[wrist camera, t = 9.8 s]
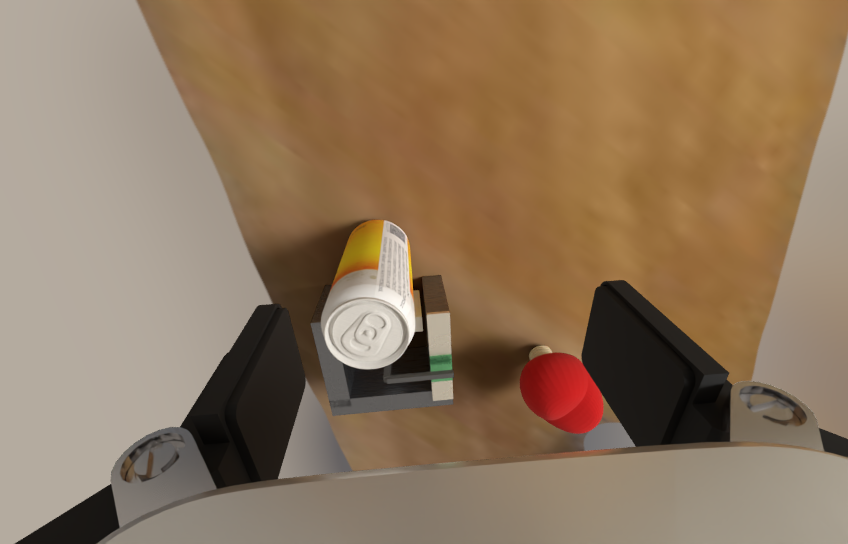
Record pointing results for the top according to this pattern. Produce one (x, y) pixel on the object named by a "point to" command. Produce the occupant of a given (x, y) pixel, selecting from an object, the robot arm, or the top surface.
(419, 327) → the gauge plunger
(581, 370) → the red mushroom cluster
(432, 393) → the gauge frame
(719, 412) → the robot arm
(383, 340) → the beer can
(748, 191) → the top surface
